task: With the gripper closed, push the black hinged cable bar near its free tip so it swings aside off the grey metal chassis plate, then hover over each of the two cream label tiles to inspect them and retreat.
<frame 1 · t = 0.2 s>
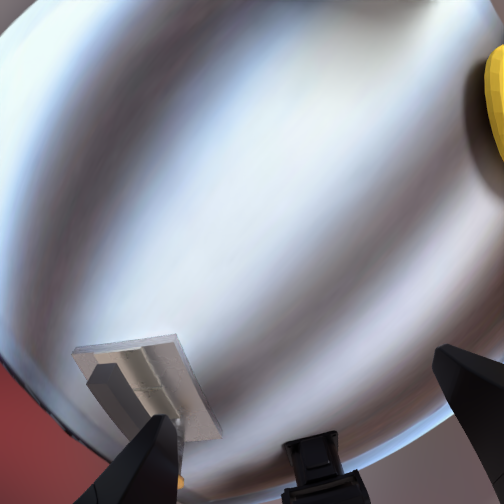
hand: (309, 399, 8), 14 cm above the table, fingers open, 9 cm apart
cable bar: (142, 438, 20), point 5 cm above the table, hinge at 0.0°
chassis: (150, 395, 25), on the table
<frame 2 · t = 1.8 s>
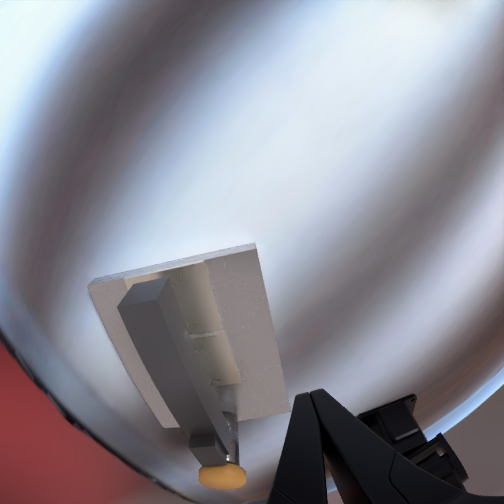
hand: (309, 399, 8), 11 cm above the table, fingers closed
cable bar: (193, 411, 14), point 5 cm above the table, hinge at 0.0°
chassis: (198, 352, 19), on the table
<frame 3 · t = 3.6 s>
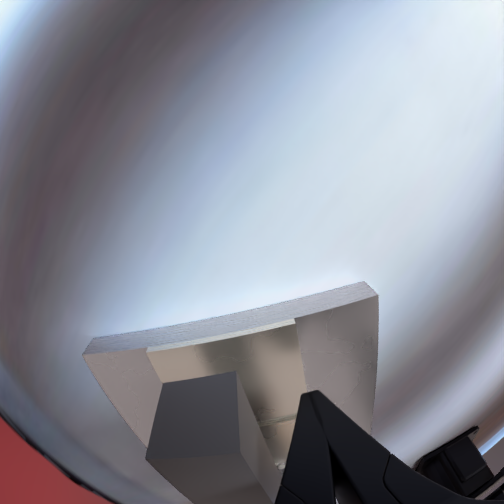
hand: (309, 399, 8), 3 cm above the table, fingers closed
chassis: (258, 429, 12), on the table
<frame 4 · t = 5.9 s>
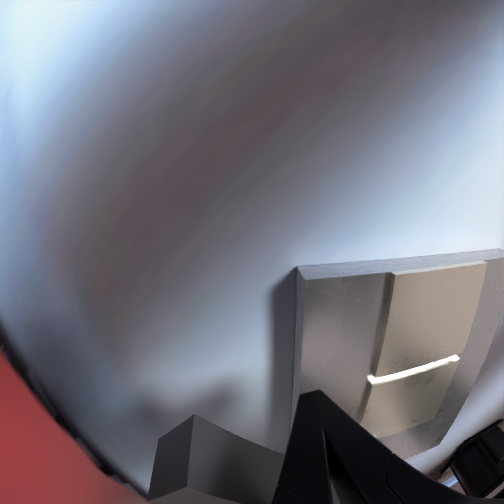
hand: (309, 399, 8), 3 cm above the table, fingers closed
chassis: (396, 387, 12), on the table
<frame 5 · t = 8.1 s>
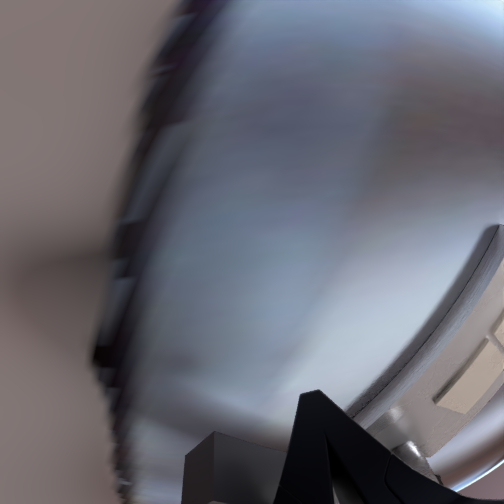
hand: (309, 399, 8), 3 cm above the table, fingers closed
chassis: (464, 368, 13), on the table
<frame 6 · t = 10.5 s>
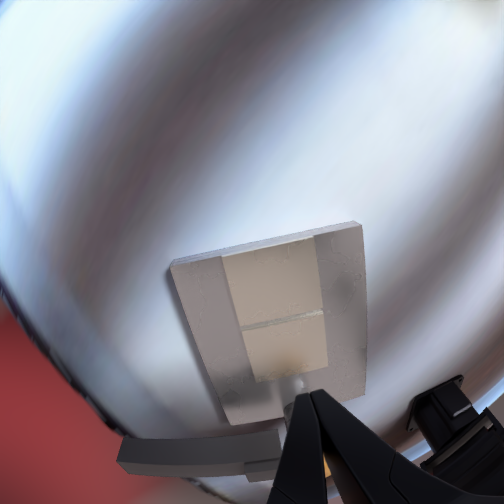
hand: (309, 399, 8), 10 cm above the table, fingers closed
cable bar: (220, 463, 16), point 5 cm above the table, hinge at 88.2°
chassis: (284, 338, 19), on the table
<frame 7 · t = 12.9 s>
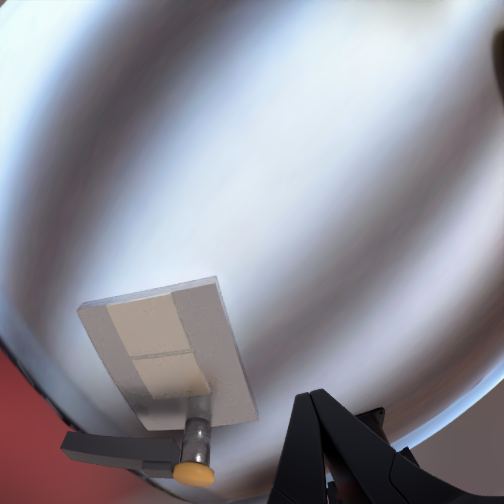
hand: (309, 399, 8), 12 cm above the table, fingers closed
cable bar: (130, 459, 18), point 5 cm above the table, hinge at 88.2°
chassis: (174, 366, 21), on the table
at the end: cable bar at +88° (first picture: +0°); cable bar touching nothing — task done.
